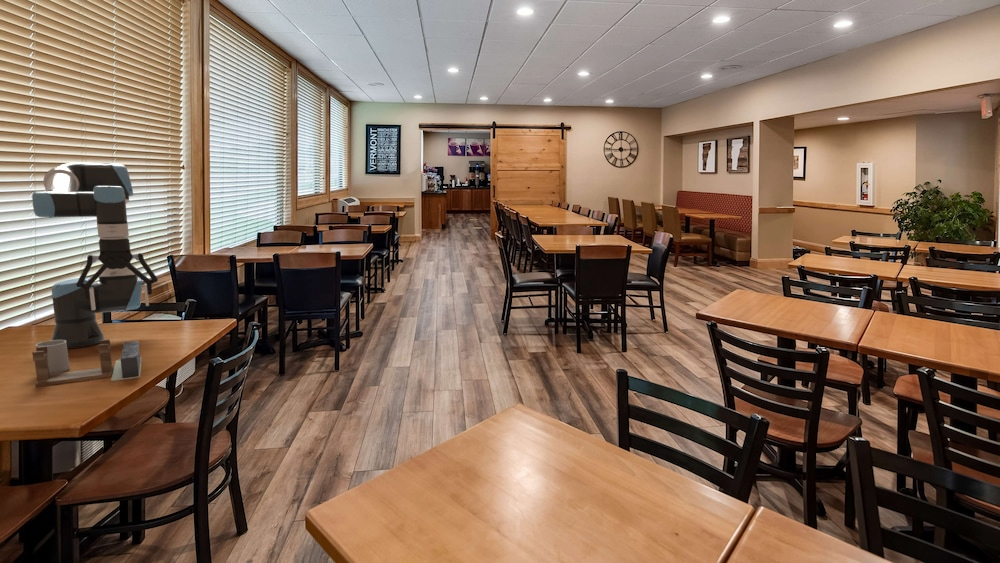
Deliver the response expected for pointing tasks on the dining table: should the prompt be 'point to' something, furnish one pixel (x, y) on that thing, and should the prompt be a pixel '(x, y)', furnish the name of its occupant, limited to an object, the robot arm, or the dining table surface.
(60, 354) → the cup
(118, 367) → the mat
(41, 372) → the stand
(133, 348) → the rail
